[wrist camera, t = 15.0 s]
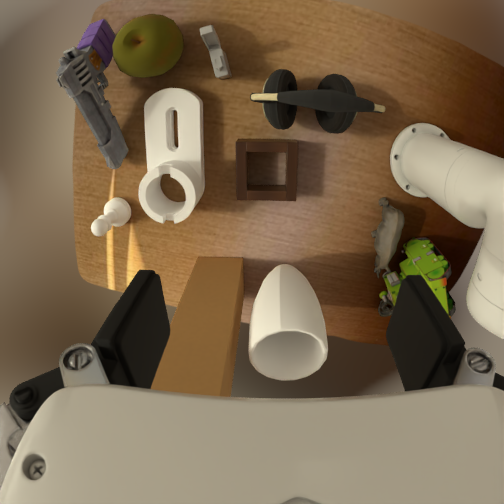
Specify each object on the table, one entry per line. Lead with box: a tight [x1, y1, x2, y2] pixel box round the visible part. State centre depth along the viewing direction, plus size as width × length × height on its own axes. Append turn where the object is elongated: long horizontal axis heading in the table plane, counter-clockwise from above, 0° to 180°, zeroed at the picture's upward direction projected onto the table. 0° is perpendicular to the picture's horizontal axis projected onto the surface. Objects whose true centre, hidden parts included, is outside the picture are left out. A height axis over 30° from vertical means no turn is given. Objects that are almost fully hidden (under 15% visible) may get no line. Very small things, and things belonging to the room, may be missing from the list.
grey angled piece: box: [200, 25, 232, 79], centre depth 35 cm, size 7×2×8 cm, turn 13°
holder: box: [236, 139, 298, 201], centre depth 45 cm, size 9×9×4 cm
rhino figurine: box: [371, 197, 404, 278], centre depth 48 cm, size 4×14×6 cm, turn 178°
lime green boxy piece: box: [374, 237, 455, 319], centre depth 48 cm, size 13×16×14 cm
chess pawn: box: [91, 197, 131, 236], centre depth 47 cm, size 5×5×9 cm
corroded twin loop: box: [378, 299, 394, 317], centre depth 56 cm, size 5×8×1 cm, turn 147°
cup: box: [249, 264, 328, 380], centre depth 45 cm, size 10×10×22 cm
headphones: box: [250, 69, 385, 134], centre depth 33 cm, size 9×15×20 cm, turn 89°
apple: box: [112, 14, 184, 78], centre depth 34 cm, size 10×10×11 cm
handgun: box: [56, 19, 129, 169], centre depth 39 cm, size 3×22×15 cm
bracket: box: [139, 88, 205, 224], centre depth 43 cm, size 20×9×7 cm, turn 179°
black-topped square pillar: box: [150, 257, 244, 397], centre depth 41 cm, size 8×8×35 cm
